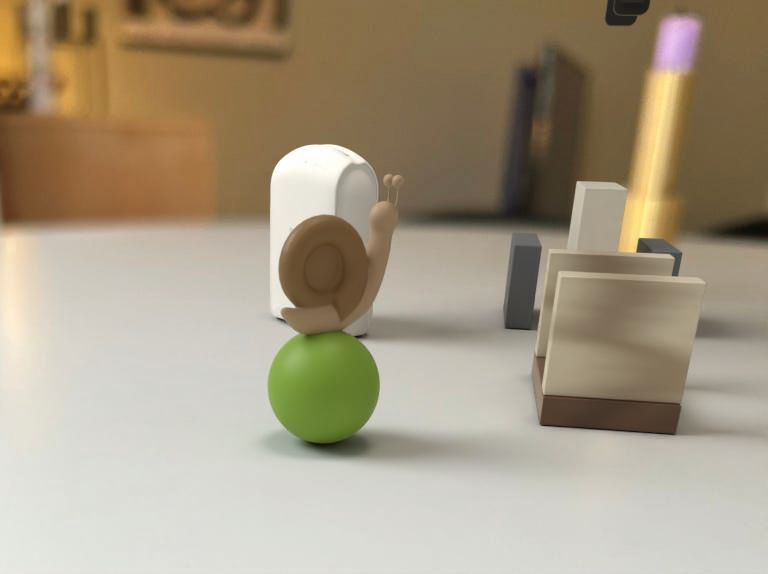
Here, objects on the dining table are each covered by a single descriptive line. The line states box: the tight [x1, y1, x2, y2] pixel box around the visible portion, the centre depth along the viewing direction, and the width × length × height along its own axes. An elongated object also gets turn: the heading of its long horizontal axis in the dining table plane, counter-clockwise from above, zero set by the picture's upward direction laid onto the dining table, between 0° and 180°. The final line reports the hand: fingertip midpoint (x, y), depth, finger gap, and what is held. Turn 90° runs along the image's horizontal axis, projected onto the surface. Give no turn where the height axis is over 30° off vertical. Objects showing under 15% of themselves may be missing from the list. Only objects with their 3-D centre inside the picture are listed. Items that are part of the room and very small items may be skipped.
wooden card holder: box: [531, 248, 707, 435], centre depth 56 cm, size 7×12×8 cm, turn 170°
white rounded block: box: [269, 143, 379, 337], centre depth 73 cm, size 10×4×12 cm, turn 29°
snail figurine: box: [267, 173, 404, 444], centre depth 47 cm, size 5×6×12 cm
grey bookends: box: [502, 231, 683, 330], centre depth 78 cm, size 12×9×6 cm
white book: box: [566, 180, 629, 252], centre depth 77 cm, size 3×8×10 cm, turn 170°
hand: (624, 20), depth 69 cm, fingers open, 8 cm apart
